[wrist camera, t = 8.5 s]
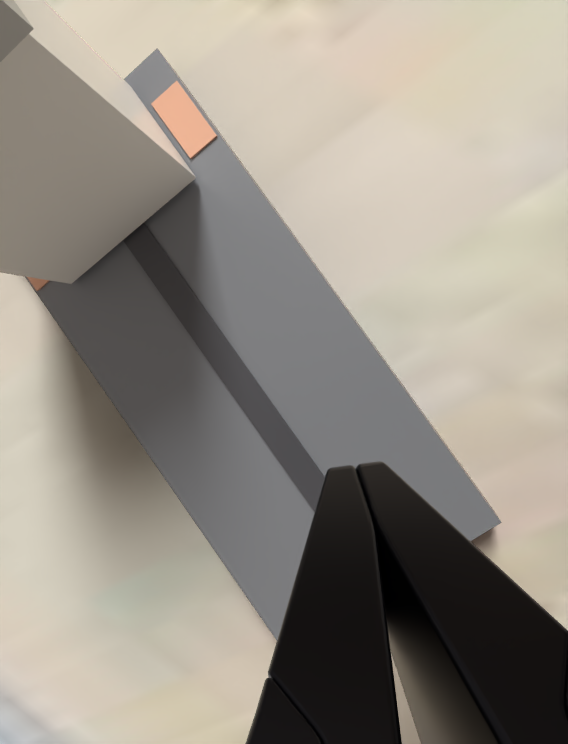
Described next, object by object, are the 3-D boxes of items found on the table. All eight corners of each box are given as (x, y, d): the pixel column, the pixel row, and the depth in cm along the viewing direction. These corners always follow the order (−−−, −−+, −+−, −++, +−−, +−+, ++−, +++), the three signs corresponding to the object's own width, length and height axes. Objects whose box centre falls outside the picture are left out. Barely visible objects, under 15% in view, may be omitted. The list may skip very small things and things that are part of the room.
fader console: (491, 507, 19) (502, 523, 17) (291, 629, 20) (284, 653, 19) (173, 69, 19) (155, 46, 18) (8, 220, 21) (-22, 211, 20)
